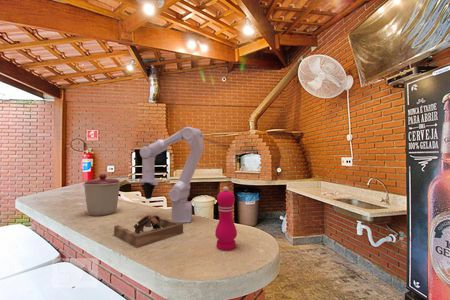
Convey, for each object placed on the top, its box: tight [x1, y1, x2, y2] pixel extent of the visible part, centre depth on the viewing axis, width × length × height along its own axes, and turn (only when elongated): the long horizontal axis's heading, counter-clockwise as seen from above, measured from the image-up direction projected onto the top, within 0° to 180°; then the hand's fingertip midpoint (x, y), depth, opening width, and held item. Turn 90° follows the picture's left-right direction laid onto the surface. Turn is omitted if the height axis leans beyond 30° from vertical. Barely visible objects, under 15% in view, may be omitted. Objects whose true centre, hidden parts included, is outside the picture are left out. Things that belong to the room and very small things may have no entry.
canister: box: [82, 173, 122, 217], centre depth 122 cm, size 18×18×21 cm
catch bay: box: [113, 215, 184, 248], centre depth 89 cm, size 18×19×4 cm
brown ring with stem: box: [133, 214, 162, 235], centre depth 90 cm, size 12×10×8 cm
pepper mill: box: [214, 186, 238, 251], centre depth 77 cm, size 7×7×20 cm
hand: (148, 198), depth 113 cm, fingers closed
